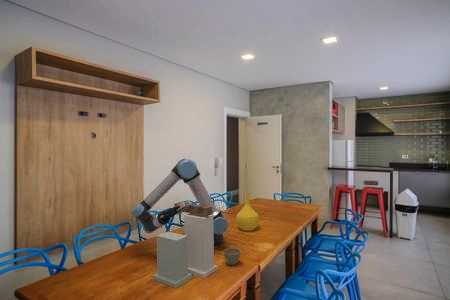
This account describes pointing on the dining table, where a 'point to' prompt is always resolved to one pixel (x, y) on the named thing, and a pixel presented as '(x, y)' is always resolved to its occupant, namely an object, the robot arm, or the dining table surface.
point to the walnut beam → (196, 209)
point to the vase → (247, 217)
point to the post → (172, 259)
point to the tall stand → (200, 244)
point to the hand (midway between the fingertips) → (186, 203)
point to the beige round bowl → (232, 255)
